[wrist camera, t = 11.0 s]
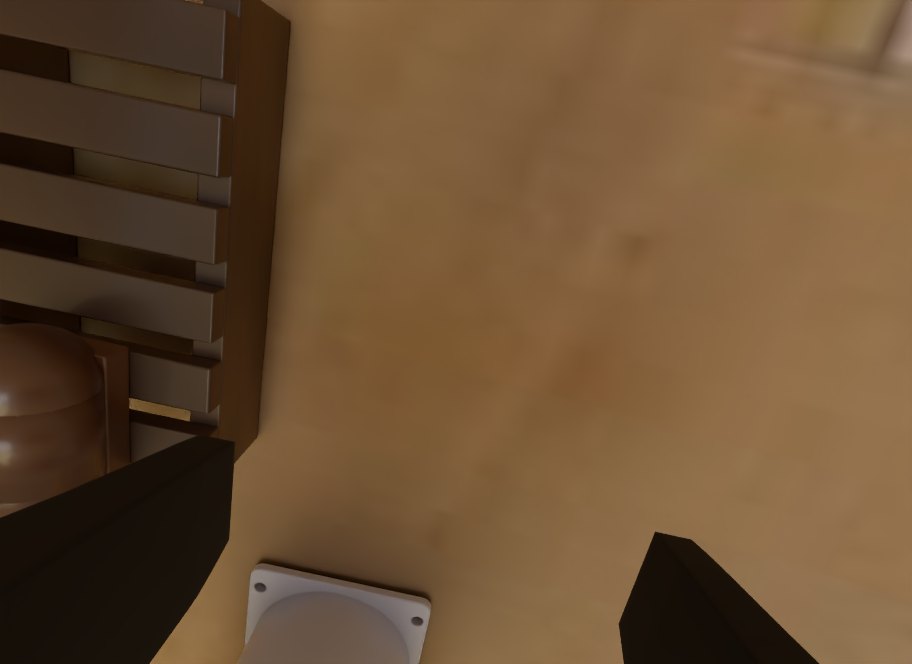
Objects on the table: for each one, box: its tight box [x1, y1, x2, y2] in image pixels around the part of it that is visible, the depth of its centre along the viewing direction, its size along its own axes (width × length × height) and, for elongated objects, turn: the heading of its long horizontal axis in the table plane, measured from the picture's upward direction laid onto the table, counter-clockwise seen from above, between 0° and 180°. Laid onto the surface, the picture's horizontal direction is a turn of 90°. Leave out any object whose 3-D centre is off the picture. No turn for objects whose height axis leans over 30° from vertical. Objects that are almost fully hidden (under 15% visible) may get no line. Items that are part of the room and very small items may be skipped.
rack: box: [0, 0, 290, 463], centre depth 16 cm, size 15×8×4 cm, turn 169°
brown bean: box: [0, 323, 130, 518], centre depth 14 cm, size 6×3×3 cm, turn 169°
